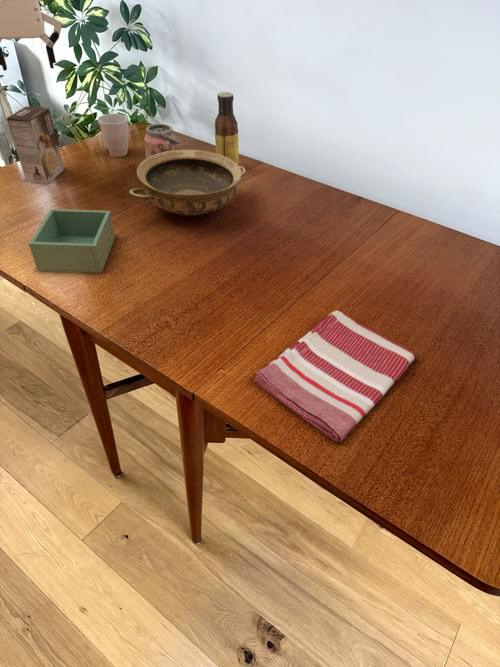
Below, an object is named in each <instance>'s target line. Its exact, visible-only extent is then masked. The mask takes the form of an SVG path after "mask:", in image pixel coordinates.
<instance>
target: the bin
mask: <svg viewBox="0 0 500 667" xmlns="http://www.w3.org/2000/svg"><path fill="white" fill-rule="evenodd" d="M113 222H114V221H113V218H112V212H111V210H99V209H98V210H96V209H95V210H94V209H66V208H65V209H64V208H50V209H49V210H48V212H47V214H46V215H45V216H44V218H43V220H42V221H41V223H40V225H39V226H38V228H37V230H36V231H35V233H33V236H32V238H31V239H30V241H29V242H28V246H29V249H30V252H31V255H32V259H33V262H34V264H35V267H36V271H37V272H57V273H85V274H86V273H91V274H102V272H103V270H104V267H105V265H106V262H107V260H108V257H109V255H110V252H111V249H112V247H113V243H114V241H115V238H116V234H115V228H114V223H113Z"/></svg>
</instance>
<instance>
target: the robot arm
mask: <svg viewBox="0 0 500 667" xmlns="http://www.w3.org/2000/svg"><path fill="white" fill-rule="evenodd" d="M44 22H45V23H47V24H49V25H50V26H53V30H52V33H51V34H50V36H49V35H48V34H47V33H46V30H45V23H44ZM62 28H63V24H62V22H61V21H60V20H58V19H57V18H54V17H52V16H50V15H49V14H47V13H45V12H43V11H42V9H41V6H40V3H39V0H0V43H1V42H2V40H3V39H5V40H6V39H7V40H11V39H12V40H13V39H14V40H15V39H17V40H18V39H40V40H41V41H42V42H43V43H45V50H46V54H47V58H48V64H49V68H50V69H55V66H54V64H57V60H56V56H55V51H54V46H55V44H56V43H57V41H58V40H59V39H60V34H61V32H62ZM0 66H1V67H2V71H3V72H6V71H7V70H8V65H7V61H6V58H5V55H4V51H3V48H2V46H0Z"/></svg>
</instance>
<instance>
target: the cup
mask: <svg viewBox="0 0 500 667" xmlns="http://www.w3.org/2000/svg"><path fill="white" fill-rule="evenodd" d="M97 123H98V128H99V133H100V136H101V139H102V142H103V146H104V148H105V149H106V152H107V154H108V156H109V157H113V158H122V157H125V156H127V154H128V149H129V139H130V138H129V136H130V133H129V132H130V130H129V118H128V116H127V115H124V114H121V113H106V114H103V115H102V114H101V115H100V116H98V117H97Z"/></svg>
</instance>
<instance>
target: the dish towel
mask: <svg viewBox="0 0 500 667" xmlns="http://www.w3.org/2000/svg"><path fill="white" fill-rule="evenodd" d="M416 358H417V356H416V353H415V352H414V351H412V350H411V349H409V348H407V347H405V346H404V345H402V344H400V343H398V342H395V341H393V340H392V339H390V338H388V337H387V336H385V335H383V334H382V333H379V332H377V331H375V330H374V329H372V328H370V327H368V326H367V325H364V324H362V323H359V322H358V321H357V320H355V319H354V318H352V317H350V316H349V315H347V314H345V313H344V312H342V311H340V310H338V309H337V310H334V311H332V312H331V313H330V314H328V315H326V316H325V317H324V318H322V319H321V320H320V321H319V322H318V323H316V325H314V326H313V327H311V329H310V330H309V331H308V332H307V333H306V334H305V335H304V336H302V337H301V338H300V339H298V340H297V341H295V342H294V343H293V344H291V345H290V346H288V347H287V348H286V349H285V350H284V351H283V352H282V353H281V354H279V355H278V356H277V357H276V358H275V359H274V360H272V361H271V362H269V363H268V364H267V365H266V366H264V367H262V368H261V369H259V370H257V371H255V378H254V379H253V383H255V384H256V385H257V386H258V387H259V388H261V389H262V390H264V391H265V392H266V393H267V394H269V395H271V397H273V398H275V399H276V400H277V401H279V402H280V403H281V404H282V405H284V406H285V407H286V408H288V409H289V410H290V411H292V412H293V413H295V415H296V416H299V417H300V418H301V419H304V421H306V422H307V423H309V424H310V425H311V426H312V427H314V428H316V429H317V430H318V431H320V432H321V433H323V434H324V435H325V436H327V437H328V438H329V439H330V440H332V441H334V442H337V443H341V442H342V441H343V440H345V438H346V437H347V435H348V434H349V433H350V432H351V431H352V430H353V429H354V428H355V427H356V426H357V425H358V424H359V422H361V420H362V419H363V418H364V417H365V416H367V414H368V413H369V412H370V411H371V409H373V408H374V407H375V406H376V404H378V402H379V401H381V400H382V398H383V397H384V396H385V394H386V393H387V392H388V391H389V390H390V388H391V387H392V386H393V385H394V384H396V382H397V381H398V380H399V379H400V378H401V377H403V374H405V372H406V371H407V370H408V368H409V367H410V366H411V364H412V363H413V362H414V361H415V360H416Z"/></svg>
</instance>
